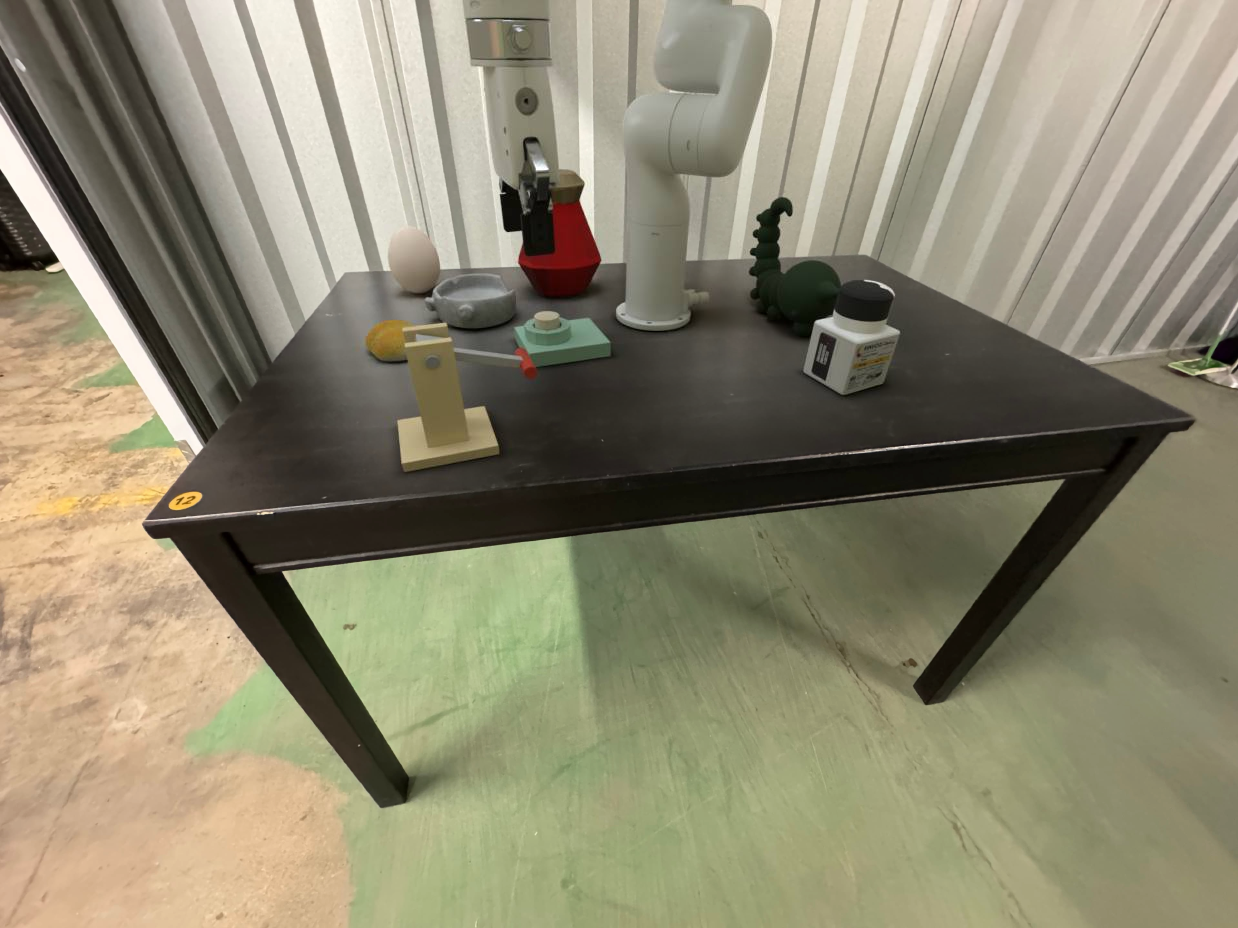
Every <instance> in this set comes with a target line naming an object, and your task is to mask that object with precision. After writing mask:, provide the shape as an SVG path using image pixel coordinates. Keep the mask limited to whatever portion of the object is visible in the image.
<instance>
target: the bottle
mask: <svg viewBox="0 0 1238 928" xmlns="http://www.w3.org/2000/svg"><path fill="white" fill-rule="evenodd" d="M559 175H560V181H559V183H558V185H557V186H556V187H551V186H549V189H550V190H551V192H552V197H551V201H552V205H553V222H554V238H555V252H554V253H553V254H547V255H538V256H526V255H525V253H524V248H523V243H521V247H520V250H519V254H518V259H517V264H518V266H519V267H520V269H521V271H522V272H523V274H525V277H526V278H527V279H528V282H529V284H530V285H531V286H532V288H533V289H534V291H535V293H536V294H537V295H540V296H542V297H544V298H553V299H560V298H571V297H575V296H580V295H582V294H584V293H586V291H587V290H588V288H589V285H590V284H591V282H592V281H593V278H594V276H595V274H596V272H597V270H598V268H599V266H600V264H602V257H601V254H600V251H599V248H598V246H597V242H596V240H595V237H594V235H593V232H592V230H591V228H590V227H591V226H590V224H589V221H588V218H587V216H586V215H585V212H584V209H583V206H582V203H581V201H580V199H581V196H582V194H583V191H584V188H585V185H586V183H585V181H584V180H583V179H582V178H581V176H580V175H579V174H578V173H576V171H575V170H573V169H565V168H564V169H563V168H559Z"/></svg>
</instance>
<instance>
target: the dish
mask: <svg viewBox="0 0 1238 928" xmlns="http://www.w3.org/2000/svg"><path fill="white" fill-rule="evenodd" d="M424 304H425V308H426V309H427V310H429V312H436V315H437V317H438V318H439V320H440V321H441V322H442V323H447V325H449V326H453V327H457V328H463V329H483V328H489V327H495V326H499V325H501V324H503V323H506V322H508V321H509V320H511V319H512V318H513V317H514V315H515V313H516V308H517V294H516V291H515V290H514V289H511V290H510V291H509V289H508V288H507V286H506V284H505V282H504V280H503V278H502V276H501V275H498V274H494V273H468V274H459V275H457V276H455V277H450V278H447V279H445V280H443V281H441V282H440V283H439V284H438V285H437V286H435V288H433V290H432V295H431V297H425V298H424Z"/></svg>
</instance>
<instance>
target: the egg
mask: <svg viewBox="0 0 1238 928" xmlns="http://www.w3.org/2000/svg"><path fill="white" fill-rule="evenodd" d="M440 261H441V260H440V256H439V253H438V251H437V248H436V247H435V245H434V244H433V242H432V240H431V239H430V238H429V236H428V235H427V234H426V233H424V232H423V231H422V230H421V229H419V228H418V227H415V226H412V225H406V226H402V227H400V228H399V229H397V231H395V232H394V233H393V234H392V236H391V238H390V241H389V246H388V249H387V262H388V267H389V270H390V273H391V275H392V277H393V278H394V280H395V281H396V282H397V284H398V285H399V286H401V287H402V288H403V289H405V290H406V291H408V292H411V293H414V294H424V293H427V292H429V291H430V290H432V288H434V287H435V285H436V283H437V282H438V280H439V278H440V274H441V262H440Z"/></svg>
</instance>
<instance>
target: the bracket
mask: <svg viewBox="0 0 1238 928" xmlns="http://www.w3.org/2000/svg"><path fill="white" fill-rule="evenodd" d="M448 327H449V326H448V324H447V323H445V322H440V323H431V324H430V323H429V324H422V325H414V326H413V327H405V328H402V331H403V336H404V340H405V343H404V345H405V350H406V355H407V359H408V360H407V363H408V367H409V372H410V376H411V380H412V385H413V389H414V394H415V398H416V402H417V406H418V411H419V415H420V416H414V417H410V418H409V417H407V418H402V419H397V430H398V441H399V451H400V461H401V466H402V470H403V473H408V472H413V471H418V470H423V469H429V468H435V467H440V466H444V465H449V464H455V463H456V464H457V463H460V462H465V461H472V460H475V459H481V458H487V457H492V456H497V455H500V446H499V443H498V440H497V438H496V435H495V431H494V429H493V426H492V423H491V420H490V417H489V414H488V412H487V409H486V406H485V405H482V406H476V407H470V408H465V405H464V401H463V400H464V399H463V394H462V389H461V384H460V377H459V372H458V366H457V361H456V359H455V354H454V348H455V347H454V343H453V339H452V337H451V336H450V332H449V328H448ZM416 334H420V335H427V336H434V337H441V338H442V339H434V340H426V341H418V342H415V336H416ZM453 347H454V348H453Z"/></svg>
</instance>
